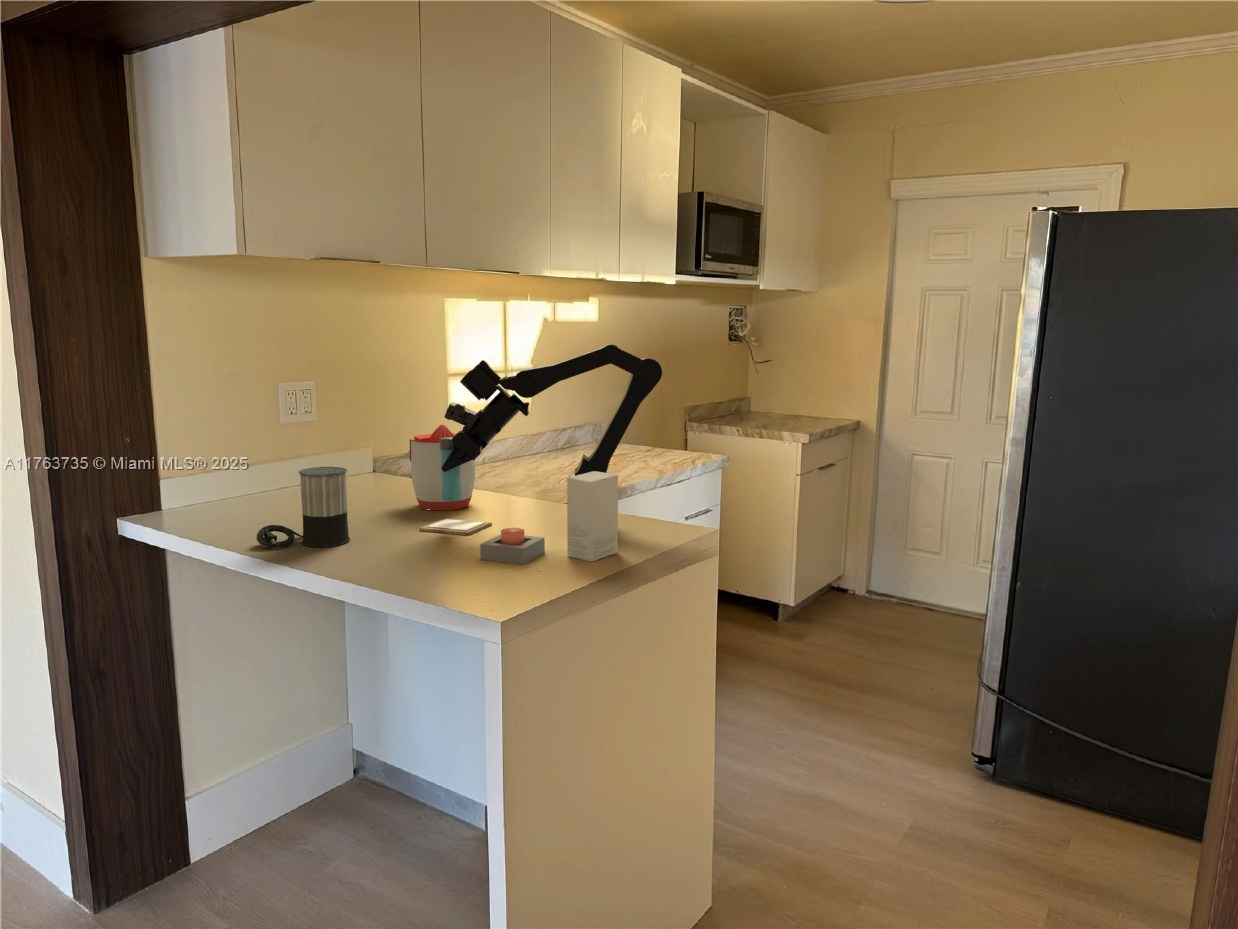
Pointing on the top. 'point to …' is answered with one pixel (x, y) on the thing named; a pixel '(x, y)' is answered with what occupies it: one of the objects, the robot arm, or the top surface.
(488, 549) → the button box
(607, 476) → the skincare box
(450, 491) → the marker
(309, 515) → the milk frother
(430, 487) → the citrus juicer
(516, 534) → the button
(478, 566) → the top surface
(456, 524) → the brown picture frame
